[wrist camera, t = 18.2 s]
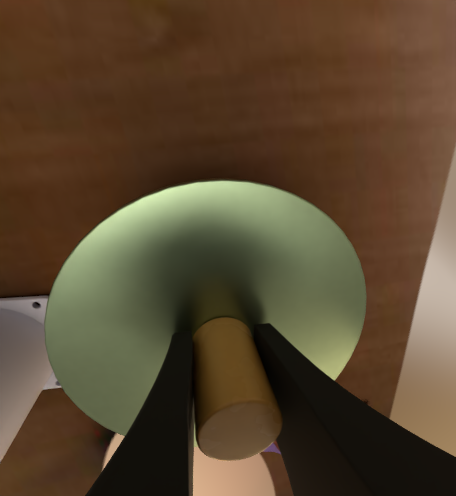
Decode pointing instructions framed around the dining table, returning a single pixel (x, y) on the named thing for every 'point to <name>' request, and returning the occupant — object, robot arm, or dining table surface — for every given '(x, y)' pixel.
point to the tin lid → (203, 305)
